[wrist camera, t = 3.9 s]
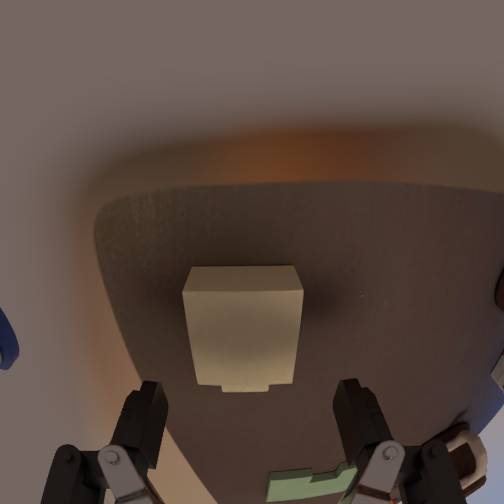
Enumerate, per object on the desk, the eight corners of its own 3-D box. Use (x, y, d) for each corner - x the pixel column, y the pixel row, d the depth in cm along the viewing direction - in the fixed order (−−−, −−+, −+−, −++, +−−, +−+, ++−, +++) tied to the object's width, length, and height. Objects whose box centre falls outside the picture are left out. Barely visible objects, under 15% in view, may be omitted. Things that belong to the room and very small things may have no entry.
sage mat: (265, 495, 33) (266, 501, 32) (269, 472, 28) (270, 480, 26) (351, 482, 33) (352, 488, 32) (376, 454, 28) (379, 461, 27)
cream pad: (206, 377, 19) (202, 407, 17) (191, 266, 16) (181, 291, 13) (283, 376, 20) (288, 406, 17) (294, 264, 16) (304, 290, 13)
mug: (450, 446, 34) (471, 492, 20) (392, 472, 34) (410, 526, 20) (490, 393, 27) (525, 450, 13) (425, 429, 27) (458, 502, 13)
